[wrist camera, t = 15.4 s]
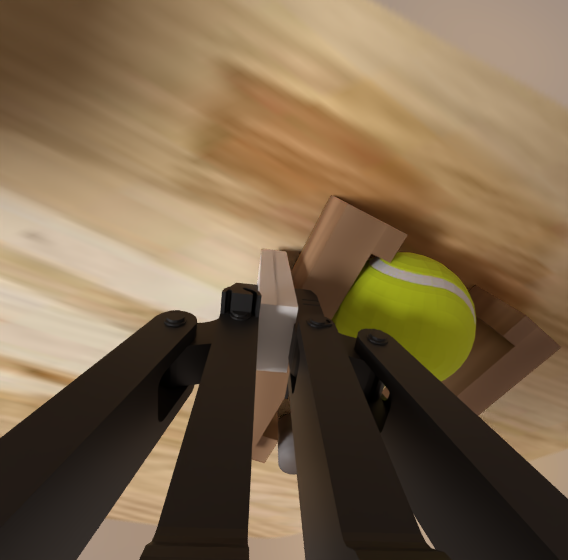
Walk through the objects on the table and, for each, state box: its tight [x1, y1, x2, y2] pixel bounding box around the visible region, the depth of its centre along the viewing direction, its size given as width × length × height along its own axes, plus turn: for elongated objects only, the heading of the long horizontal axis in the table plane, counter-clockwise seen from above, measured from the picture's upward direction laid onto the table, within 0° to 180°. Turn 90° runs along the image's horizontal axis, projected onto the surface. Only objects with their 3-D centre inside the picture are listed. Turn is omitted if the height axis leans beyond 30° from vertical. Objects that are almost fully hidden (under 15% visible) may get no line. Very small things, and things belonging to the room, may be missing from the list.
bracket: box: [252, 195, 407, 463], centre depth 17 cm, size 4×16×4 cm, turn 154°
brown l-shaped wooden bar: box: [278, 285, 561, 474], centre depth 19 cm, size 6×16×4 cm, turn 142°
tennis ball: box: [332, 252, 476, 386], centre depth 16 cm, size 7×7×7 cm
